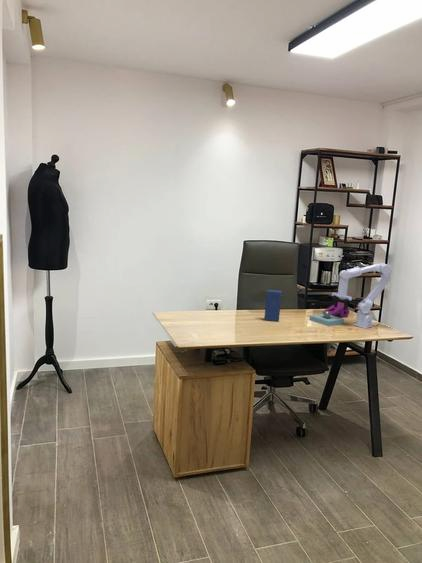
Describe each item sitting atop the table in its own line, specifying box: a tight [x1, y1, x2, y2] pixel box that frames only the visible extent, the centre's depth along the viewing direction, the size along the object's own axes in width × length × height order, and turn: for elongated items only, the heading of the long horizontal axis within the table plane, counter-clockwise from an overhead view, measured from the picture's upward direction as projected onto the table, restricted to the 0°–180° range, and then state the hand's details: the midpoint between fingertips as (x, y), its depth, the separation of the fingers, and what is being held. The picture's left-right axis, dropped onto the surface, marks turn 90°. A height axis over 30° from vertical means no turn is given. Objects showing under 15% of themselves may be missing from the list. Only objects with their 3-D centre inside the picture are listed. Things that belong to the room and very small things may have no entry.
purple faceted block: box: [322, 301, 350, 319], centre depth 329 cm, size 10×8×18 cm
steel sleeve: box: [323, 310, 331, 319], centre depth 311 cm, size 4×4×7 cm
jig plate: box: [309, 313, 345, 327], centre depth 311 cm, size 16×16×3 cm
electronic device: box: [263, 289, 283, 322], centre depth 303 cm, size 10×5×20 cm, turn 84°
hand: (340, 308), depth 306 cm, fingers open, 7 cm apart
